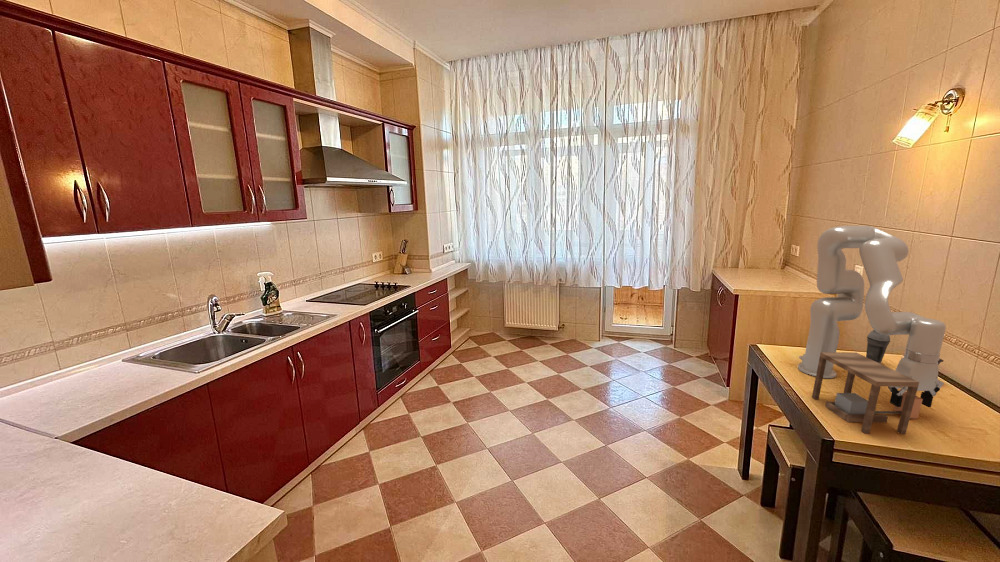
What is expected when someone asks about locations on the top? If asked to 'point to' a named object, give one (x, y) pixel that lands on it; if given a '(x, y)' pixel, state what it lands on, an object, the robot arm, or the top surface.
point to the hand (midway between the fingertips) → (909, 405)
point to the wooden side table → (878, 378)
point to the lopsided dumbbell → (858, 405)
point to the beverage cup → (876, 346)
